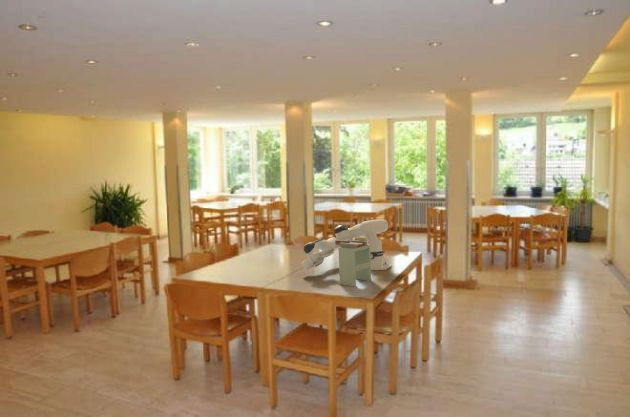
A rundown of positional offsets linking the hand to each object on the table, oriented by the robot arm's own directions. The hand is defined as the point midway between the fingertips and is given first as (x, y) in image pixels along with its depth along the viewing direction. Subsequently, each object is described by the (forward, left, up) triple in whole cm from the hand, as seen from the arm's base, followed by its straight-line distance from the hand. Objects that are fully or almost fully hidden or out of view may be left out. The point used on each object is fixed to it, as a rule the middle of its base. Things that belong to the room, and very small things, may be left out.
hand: (329, 250), depth 374 cm
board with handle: (0, +17, +5) cm, 18 cm away
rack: (-1, +22, -22) cm, 31 cm away
